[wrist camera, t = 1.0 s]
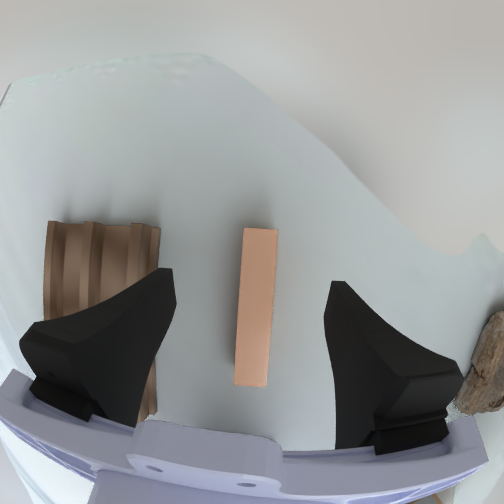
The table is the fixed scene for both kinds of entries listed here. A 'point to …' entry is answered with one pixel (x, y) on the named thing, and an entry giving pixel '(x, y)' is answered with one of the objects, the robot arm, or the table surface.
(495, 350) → the brown rock
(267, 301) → the light brown long block
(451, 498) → the desk lamp
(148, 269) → the walnut rack
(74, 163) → the table surface
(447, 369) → the robot arm
